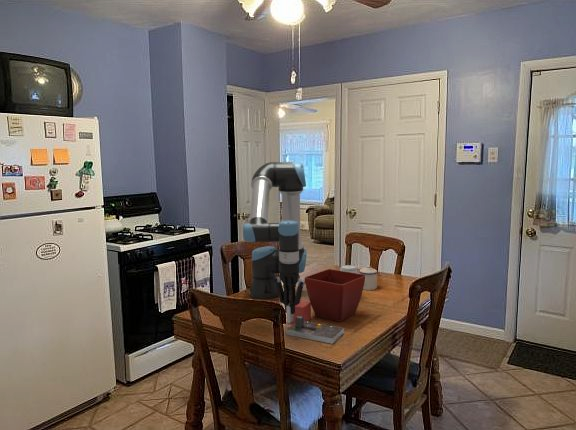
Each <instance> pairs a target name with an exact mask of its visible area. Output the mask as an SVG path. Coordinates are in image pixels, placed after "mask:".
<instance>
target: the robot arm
mask: <svg viewBox="0 0 576 430" xmlns="http://www.w3.org/2000/svg"><path fill="white" fill-rule="evenodd" d="M250 185H251V188H252V194H251V201H250V202H251V204H250V212H249V221H248V223H244V224H243V226H242V238H243V239H242V240H243V241H244V242H245V243H265V242H267V243H269V242H271V243H277V242H278V247H279V248H278V249H277V248H276V246H274V245H267V246H261V247H257V248H255V249H253V250H252V251H251V275H252V276H251V279H252V280H251V283H250V286H249V289H248V295H249V297H250V298H254V299H261V300H263V299H264V300H265V299H267V300H268V299H272V298H276V297H278V299H279V303H280V304H283V305H284V313H285V314H286V313H287V322H286V323H288V324H290V323H291V322H292V321H293V314H294V313H295V306H296V305H298V304H299V303H300V301H301V298H302V294H303V289H304V286H305V285H306V284H305V283H306V281H305V280H303V279H302V278H301V275H300V274H302V273H304V271H305V269H306V263H307V252H308V250H307V249H305V246H304V245H303V243H302V242H301V194H302V193H303V191H304V188H306V187H307V183H306V174H305V168H304V164H303V163H302V162H300V161H278V162H276V161H272V162H270V161H269V162H267V163H264V164H263V165H261V166H260V167H259V168H258V169H257V170H256V171H255V172H254V174H253V175H252V177H251V183H250ZM272 188H278V192H279V193H280V194H281V209H282V210H281V212H282V213H281V214H282V216H281V217H282V218H281V219H282V220H281V221H280V222H269V208H270V207H269V206H270V193H271V192H270V191H271V190H272ZM277 275H278V276H277ZM296 287H297V288H296ZM289 303H290V304H289Z"/></svg>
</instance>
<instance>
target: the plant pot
mask: <svg viewBox="0 0 576 430" xmlns="http://www.w3.org/2000/svg"><path fill="white" fill-rule="evenodd" d="M357 273H358V272H357ZM357 273H351V272H345V271H340V269H339V270H338V269H333V268H332V269H331V268H328V269H325V270H321V271H319V272H316V273H313V274H310V275H307V276H304V281H306V283H305V284H304V285H305V288H306V293H307V297H308V300H309V302H311V309H312V310H313V313H314V315H315V317H316V316H317V317H321V318H324V319H327V320H332V321H335V322H342V321H344V320H346V319H348V318H349V317H351V316H353V315H355V314H356V312H357V310H358V307H359V305H360V301H361V298H362V294H363V287H364V282H365V275H362V274H357Z"/></svg>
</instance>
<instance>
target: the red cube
mask: <svg viewBox="0 0 576 430" xmlns="http://www.w3.org/2000/svg"><path fill="white" fill-rule="evenodd" d="M289 304H290V303H289ZM311 309H312V306H311V302H310V301H305V300H300V303H299V304H298V305H296V306H295V313H294V314H293V321H292V322H291V323H292V324H294V323H295V318H296V317H297V316H301V317H304V321H310V320H311V319H312V310H311ZM285 314H286V316H285V319H287V313H285Z"/></svg>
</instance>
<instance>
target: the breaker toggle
mask: <svg viewBox="0 0 576 430" xmlns="http://www.w3.org/2000/svg"><path fill="white" fill-rule="evenodd" d="M303 326H304V317H301V316H297V317H296V318H295V327H299V328H301V327H303Z"/></svg>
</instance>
